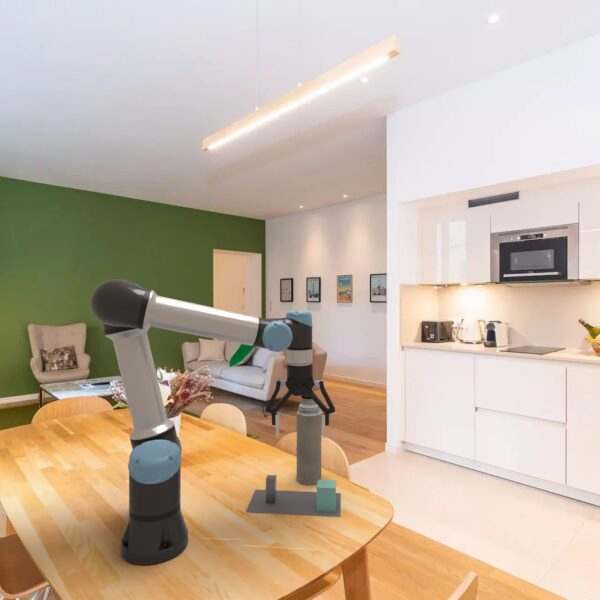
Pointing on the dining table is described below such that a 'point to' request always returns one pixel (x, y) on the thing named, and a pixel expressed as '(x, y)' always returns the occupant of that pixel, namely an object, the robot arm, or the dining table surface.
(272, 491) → the post
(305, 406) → the thermos bottle
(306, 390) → the robot arm
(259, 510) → the mat
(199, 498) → the dining table surface
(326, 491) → the teal rectangular block
